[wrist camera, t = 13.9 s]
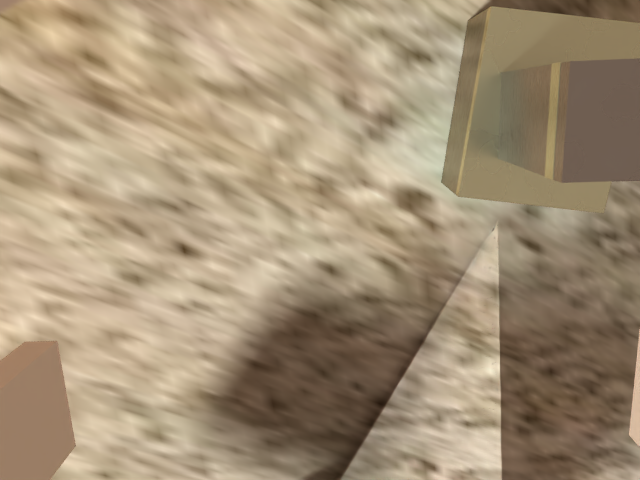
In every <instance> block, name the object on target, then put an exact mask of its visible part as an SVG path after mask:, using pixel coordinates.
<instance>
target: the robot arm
mask: <svg viewBox="0 0 640 480" xmlns="http://www.w3.org/2000/svg"><path fill="white" fill-rule="evenodd" d="M629 436H630V437H631V438H632V439H633V440H634V441H635V442H636V444H637V445H638V446H639V447H640V331H639V341H638V351H637V361H636V371H635V380H634V390H633V400H632V410H631V420H630V430H629ZM75 446H76V445H75V439H74V433H73V428H72V422H71V416H70V411H69V405H68V399H67V394H66V388H65V382H64V376H63V371H62V365H61V359H60V354H59V348H58V342H57V341H38V342H24V343H23V344H22V345H20V346H19V347H18V348H16V349H15V350H14V351H12V352H11V353H10V354H9V355H7V356H6V357H5V358H3V359H2V360H1V361H0V480H50V479H51V477H52V476H53V475H54V474H55V472H56V471H57V470H58V468H59V467H60V466H61V464H62V463H63V462H64V460H65V459H66V458H67V457H68V455H69V454H70V453H71V451H72V450H73V449H74V447H75Z"/></svg>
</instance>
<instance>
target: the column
mask: <svg viewBox="0 0 640 480" xmlns="http://www.w3.org/2000/svg"><path fill="white" fill-rule="evenodd" d="M498 159H500V160H503V161H505V162H508V163H511V164H513V165H516V166H519V167H521V168H524V169H526V170H529V171H532V172H534V173H537V174H540V175H542V176H545V177H546V178H548V179H551V180H555V181H558V182H561V183H573V182H606V181H639V180H640V58H637V59H612V60H587V61H568V62H559V63H553V64H550V65H544V66H538V67H532V68H526V69H519V70H513V71H507V72H501V96H500V120H499V144H498Z"/></svg>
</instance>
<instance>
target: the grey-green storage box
mask: <svg viewBox="0 0 640 480" xmlns="http://www.w3.org/2000/svg"><path fill="white" fill-rule="evenodd" d="M637 58H640V23H636V22H627V21H618V20H610V19H601V18H592V17H583V16H574V15H565V14H556V13H547V12H539V11H530V10H521V9H512V8H503V7H494V6H491V7H489V8H488V9H486V10H485V11H483V12H481V13H480V14H478V15H476V16H475V17H473V18H472V19H470V20H468V24H467V30H466V36H465V42H464V48H463V54H462V60H461V66H460V72H459V78H458V84H457V90H456V96H455V102H454V108H453V114H452V120H451V126H450V132H449V138H448V144H447V150H446V156H445V162H444V168H443V174H442V180H441V183H443V184H444V185H445V186H446V187H447V188H449V189H450V190H451V191H452V192H453V193H455V194H456V195H457V196H458V197H467V198H475V199H484V200H493V201H501V202H510V203H519V204H527V205H536V206H545V207H553V208H562V209H571V210H579V211H588V212H597V213H604V210H605V206H606V202H607V198H608V194H609V190H610V186H611V181H606V182H573V183H561V182H558V181H555V180H551V179H548V178H546V177H545V176H542V175H540V174H537V173H534V172H532V171H529V170H526V169H524V168H521V167H519V166H516V165H513V164H511V163H508V162H505V161H503V160H500V159H498V144H499V120H500V96H501V72H507V71H513V70H519V69H526V68H532V67H538V66H544V65H550V64H553V63H559V62H568V61H587V60H612V59H637Z"/></svg>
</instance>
